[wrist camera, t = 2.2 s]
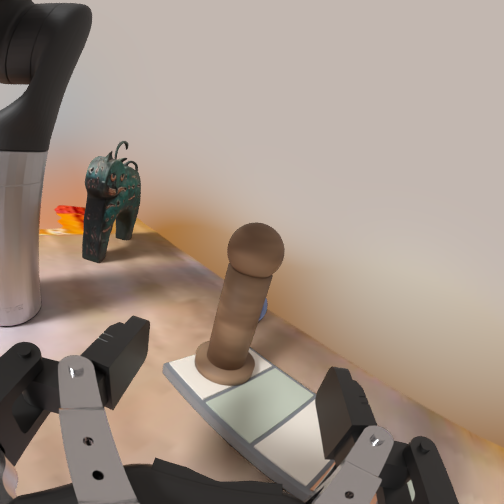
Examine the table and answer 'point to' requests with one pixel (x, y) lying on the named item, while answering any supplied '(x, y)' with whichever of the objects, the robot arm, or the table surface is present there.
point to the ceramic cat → (109, 203)
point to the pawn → (240, 304)
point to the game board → (263, 421)
